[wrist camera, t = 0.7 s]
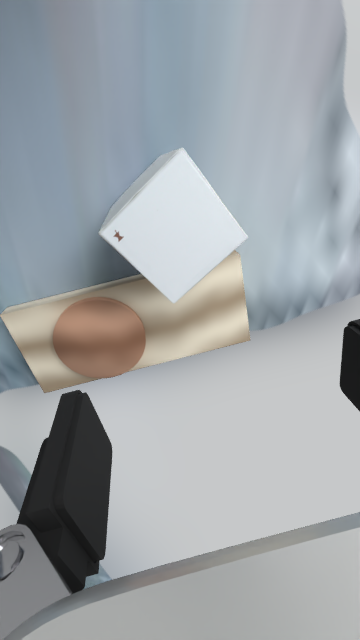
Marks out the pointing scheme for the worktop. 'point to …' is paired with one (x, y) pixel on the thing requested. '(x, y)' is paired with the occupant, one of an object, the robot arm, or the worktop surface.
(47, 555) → the robot arm
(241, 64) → the worktop surface
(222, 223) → the supplement box
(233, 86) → the worktop surface
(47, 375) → the board
